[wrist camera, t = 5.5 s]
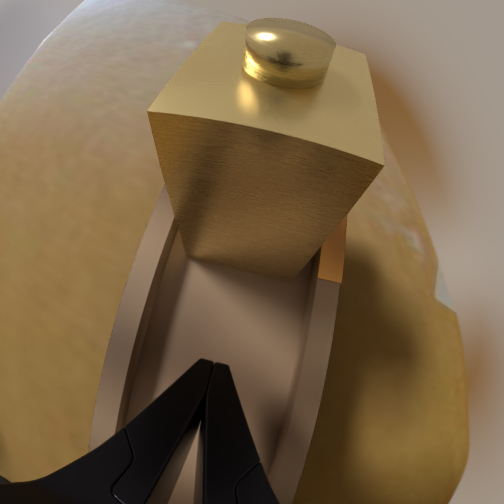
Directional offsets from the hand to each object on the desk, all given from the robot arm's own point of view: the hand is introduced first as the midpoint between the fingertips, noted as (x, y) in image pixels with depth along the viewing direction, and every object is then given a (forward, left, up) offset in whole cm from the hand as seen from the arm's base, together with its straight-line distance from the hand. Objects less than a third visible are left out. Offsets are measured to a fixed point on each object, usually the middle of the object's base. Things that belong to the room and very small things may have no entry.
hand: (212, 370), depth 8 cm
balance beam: (-1, 0, -7) cm, 7 cm away
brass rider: (+6, -3, -3) cm, 7 cm away
